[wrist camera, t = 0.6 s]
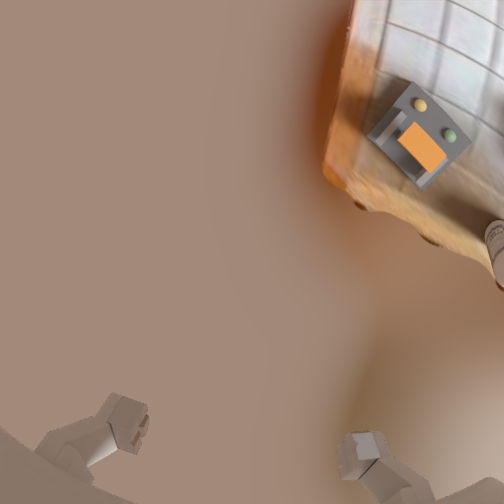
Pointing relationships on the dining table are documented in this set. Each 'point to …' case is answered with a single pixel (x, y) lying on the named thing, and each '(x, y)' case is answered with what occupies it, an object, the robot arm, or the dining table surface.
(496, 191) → the dining table surface
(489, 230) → the bath foam
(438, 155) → the lever
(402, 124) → the grey knob panel
